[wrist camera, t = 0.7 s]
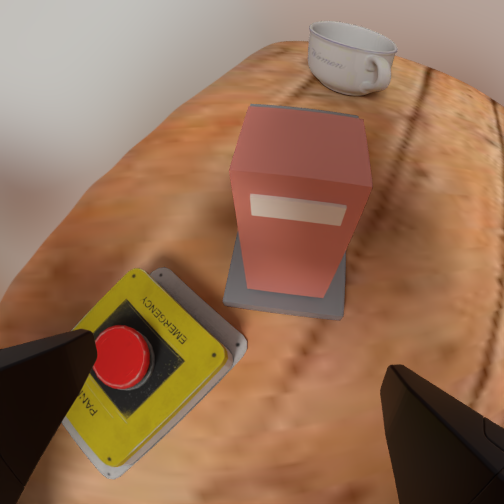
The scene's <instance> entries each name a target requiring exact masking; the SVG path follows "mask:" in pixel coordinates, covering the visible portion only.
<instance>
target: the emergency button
mask: <svg viewBox="0 0 504 504" xmlns="http://www.w3.org/2000/svg"><path fill="white" fill-rule="evenodd" d="M77 329H86V330H89V331H91V332H93V334H94V338H95V343H96V348H97V353H98V356H97V360H96V362H95V364H94V366H93V368H92V370H91V372H90V374H89V376H88V378H87V380H86V382H85V384H84V386H83V388H82V390H81V392H80V393H79V395H78V397H77V398H76V400H75V402H74V403H73V405H72V406H71V408H70V410H69V411H68V413H67V414H66V416H65V418H64V419H63V421H62V424H63V425H64V427H65V428H66V430H67V431H68V432H69V434H70V435H71V437H72V438H73V439H74V441H75V442H76V443H77V445H78V446H79V447H80V449H81V450H82V451H83V452H84V454H85V455H86V456H87V457H88V459H89V460H90V461H91V462H92V463H93V465H94V466H95V467H96V468H97V469H98V470H99V472H100V473H101V474H102V475H103V476H105V477H106V478H108V479H116V478H118V477H120V476H122V475H123V474H124V473H125V472H126V471H127V470H128V469H130V468H131V467H132V466H133V465H134V464H135V463H136V462H137V461H138V460H140V459H141V458H142V457H143V456H144V455H145V454H146V453H147V452H148V451H149V450H150V449H152V448H153V447H154V446H155V445H156V444H157V443H158V442H159V441H160V440H161V439H162V438H163V437H164V436H165V435H166V434H168V433H169V432H170V431H171V430H172V429H173V428H174V427H175V426H176V425H177V424H178V423H179V422H180V421H181V420H182V419H183V418H184V417H185V416H186V415H187V414H188V413H189V412H190V411H191V410H192V409H193V408H194V407H195V406H196V405H197V404H198V403H199V402H200V401H201V400H202V399H203V398H204V397H205V396H206V395H207V394H208V393H209V392H210V391H211V390H212V389H213V388H214V387H215V386H216V385H217V384H218V383H219V382H220V381H221V380H222V379H223V377H224V376H225V375H226V374H227V373H228V372H229V371H230V370H231V369H232V368H233V367H234V366H235V365H236V364H237V363H238V362H239V360H240V359H241V358H242V357H243V356H244V354H245V352H246V350H247V341H246V339H245V338H244V336H243V335H242V334H241V333H240V332H239V331H238V330H236V329H235V328H234V327H233V326H232V325H231V324H229V323H228V322H227V321H226V320H225V319H224V318H223V317H221V316H220V315H219V314H218V313H217V312H216V311H215V310H214V309H212V308H211V307H210V306H209V305H208V304H207V303H206V302H205V301H203V300H202V299H201V298H200V297H199V296H198V295H197V294H196V293H195V292H194V291H192V290H191V289H190V288H189V287H188V286H187V285H186V284H185V283H184V282H183V281H182V280H181V279H180V278H178V277H177V276H176V275H175V274H174V273H173V272H172V271H171V270H170V269H168V268H165V267H163V268H158V269H156V270H154V271H153V272H152V273H151V274H148V273H147V272H145V271H144V270H142V269H140V268H134V269H132V270H130V271H129V272H128V273H127V274H126V275H125V276H124V277H123V278H122V279H121V280H119V281H118V282H117V283H116V284H115V285H114V286H113V287H112V288H111V289H110V290H109V291H108V292H107V293H106V295H105V296H104V297H103V298H102V299H101V300H100V301H99V302H98V303H97V304H96V305H95V306H94V307H93V308H92V309H91V310H90V311H89V312H88V313H87V314H86V315H85V316H84V317H83V318H82V319H81V320H80V321H79V323H78V324H77V325H76V326H75V327H74V328H73V329H72V330H71V331H74V330H77Z"/></svg>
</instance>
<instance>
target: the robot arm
mask: <svg viewBox="0 0 504 504" xmlns="http://www.w3.org/2000/svg"><path fill="white" fill-rule="evenodd" d="M97 356H98V353H97V348H96V343H95V338H94V334H93V332H91V331H89V330H86V329H77V330H74V331H70V332H66V333H63V334H59V335H55V336H51V337H47V338H44V339H40V340H36V341H32V342H28V343H24V344H20V345H16V346H12V347H8V348H4V349H0V504H16V503H17V501H18V499H19V497H20V495H21V493H22V491H23V490H24V486H25V485H26V484H27V482H28V480H29V478H30V476H31V474H32V472H33V471H34V469H35V467H36V465H37V463H38V462H39V460H40V458H41V456H42V455H43V453H44V451H45V449H46V448H47V446H48V444H49V443H50V441H51V439H52V438H53V436H54V434H55V432H56V431H57V429H58V427H59V426H60V424H61V423H62V421H63V419H64V418H65V416H66V414H67V413H68V411H69V410H70V408H71V406H72V405H73V403H74V402H75V400H76V398H77V397H78V395H79V393H80V392H81V390H82V388H83V386H84V384H85V382H86V380H87V378H88V376H89V374H90V372H91V370H92V368H93V366H94V364H95V362H96V360H97ZM380 395H381V403H382V411H383V419H384V428H385V436H386V440H387V445H388V449H389V454H390V458H391V463H392V468H393V473H394V478H395V483H396V488H397V493H398V499H399V504H504V428H502V427H500V426H499V425H497V424H495V423H494V422H492V421H491V420H489V419H487V418H486V417H484V418H483V416H482V415H481V414H479V413H478V412H476V411H474V410H473V409H471V408H470V407H468V406H467V405H465V404H463V403H462V402H460V401H459V400H457V399H455V398H454V397H452V396H451V395H449V394H448V393H446V392H444V391H443V390H441V389H440V388H438V387H437V386H435V385H433V384H432V383H430V382H429V381H427V380H426V379H424V378H422V377H421V376H419V375H418V374H416V373H415V372H413V371H412V370H410V369H408V368H407V367H405V366H404V365H401V364H399V365H390V366H389V367H388V368H387V371H386V374H385V377H384V380H383V383H382V386H381V390H380Z"/></svg>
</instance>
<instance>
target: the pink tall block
mask: <svg viewBox="0 0 504 504" xmlns="http://www.w3.org/2000/svg"><path fill="white" fill-rule="evenodd" d="M229 173H230V180H231V186H232V193H233V200H234V206H235V213H236V219H237V226H238V232H239V239H240V245H241V251H242V258H243V264H244V270H245V277H246V283H247V289H254V290H261V291H269V292H277V293H285V294H293V295H301V296H309V297H318V298H323V297H324V295H325V293H326V291H327V289H328V287H329V285H330V283H331V281H332V279H333V277H334V275H335V273H336V271H337V268H338V266H339V264H340V262H341V260H342V258H343V256H344V253H345V251H346V249H347V247H348V245H349V242H350V240H351V238H352V236H353V233H354V231H355V229H356V226H357V224H358V222H359V219H360V217H361V215H362V212H363V210H364V208H365V205H366V203H367V200H368V198H369V195H370V193H371V190H372V188H373V185H372V176H371V168H370V160H369V153H368V146H367V139H366V133H365V126H364V121H363V119H359V118H353V117H347V116H340V115H334V114H327V113H319V112H311V111H302V110H293V109H282V108H269V107H253V106H249V107H248V110H247V113H246V116H245V119H244V123H243V126H242V129H241V132H240V135H239V139H238V142H237V145H236V149H235V152H234V155H233V159H232V162H231V165H230V169H229Z"/></svg>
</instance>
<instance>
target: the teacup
mask: <svg viewBox="0 0 504 504" xmlns="http://www.w3.org/2000/svg"><path fill="white" fill-rule="evenodd" d="M309 29H310V37H309V47H308V64H309V68H310V70H311V72H312V73H313V75H314V76H315V77H316V78H318V79H319V80H320V82H321V83H322V84H323V85H325V86H326V87H327V88H329V89H331V90H333V91H336V92H338V93H342V94H346V95H353V96H361V95H365V94H369V93H371V92H375V91H382V90H384V89H386V88H387V87H388V85H389V83H390V80H391V66H392V63H393V59H394V56H395V53H396V52H397V46H396V45H395V43H394V42H392V41H391V40H389V39H388V38H387V37H385V36H383V35H381V34H379V33H377V32H374V31H372V30H369V29H366V28H364V27H360V26H357V25H352V24H348V23H343V22H333V21H320V22H315V23H312V24H311V25H310V27H309Z"/></svg>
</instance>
